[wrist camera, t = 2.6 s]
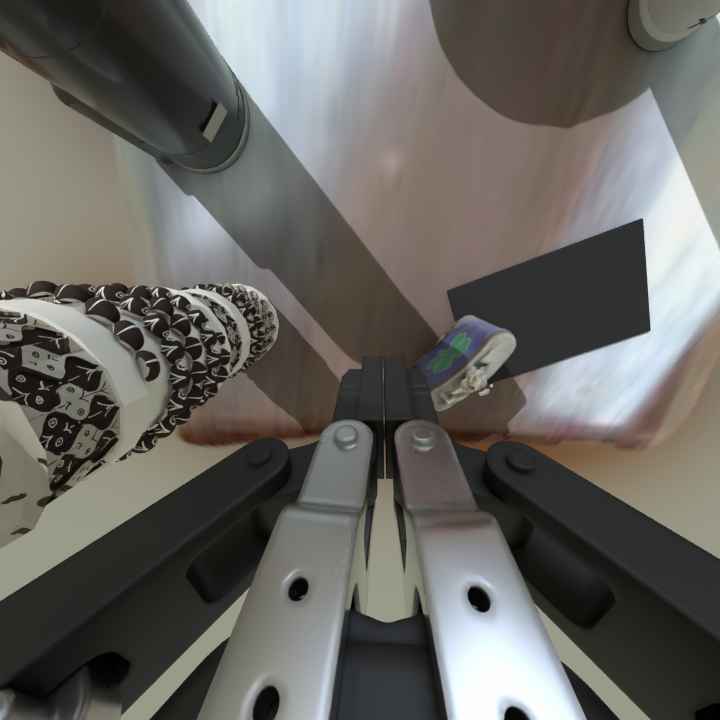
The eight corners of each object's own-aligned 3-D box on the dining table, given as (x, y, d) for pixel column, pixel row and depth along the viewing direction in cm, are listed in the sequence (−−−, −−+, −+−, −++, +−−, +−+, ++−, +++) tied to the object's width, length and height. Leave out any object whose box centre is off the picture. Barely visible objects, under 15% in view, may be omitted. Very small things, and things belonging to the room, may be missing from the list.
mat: (473, 387, 33) (474, 388, 32) (446, 290, 29) (447, 291, 29) (648, 330, 30) (650, 330, 30) (640, 219, 27) (643, 218, 27)
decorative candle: (193, 278, 29) (-597, 272, 5) (280, 281, 29) (-93, 294, 5) (204, 360, 32) (-285, 612, 8) (284, 363, 32) (46, 623, 8)
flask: (467, 309, 30) (517, 329, 19) (485, 327, 30) (542, 356, 20) (406, 367, 32) (421, 412, 22) (423, 383, 32) (447, 435, 22)
